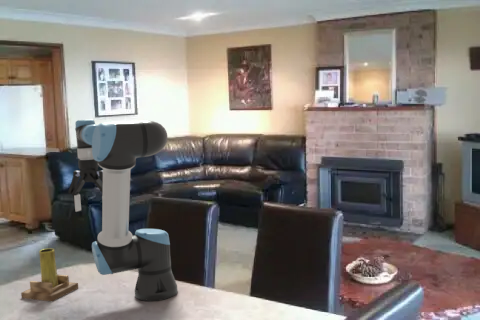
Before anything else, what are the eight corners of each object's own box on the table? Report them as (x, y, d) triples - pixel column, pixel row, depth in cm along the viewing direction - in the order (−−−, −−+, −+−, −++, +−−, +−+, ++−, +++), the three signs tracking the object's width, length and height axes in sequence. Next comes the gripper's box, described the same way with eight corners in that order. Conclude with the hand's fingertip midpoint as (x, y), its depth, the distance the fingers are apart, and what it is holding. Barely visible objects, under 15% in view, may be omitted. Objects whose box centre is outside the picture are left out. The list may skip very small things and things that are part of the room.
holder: (78, 288, 192) (77, 273, 191) (52, 301, 179) (50, 286, 178) (49, 285, 197) (48, 271, 196) (21, 297, 184) (20, 283, 183)
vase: (53, 290, 184) (49, 252, 183) (37, 290, 185) (34, 252, 184) (62, 285, 190) (58, 247, 189) (47, 284, 191) (44, 247, 190)
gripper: (119, 157, 200) (123, 210, 202) (69, 158, 209) (73, 208, 211) (108, 159, 193) (112, 213, 195) (56, 160, 202) (60, 212, 204)
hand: (92, 211), depth 203 cm, fingers open, 13 cm apart
